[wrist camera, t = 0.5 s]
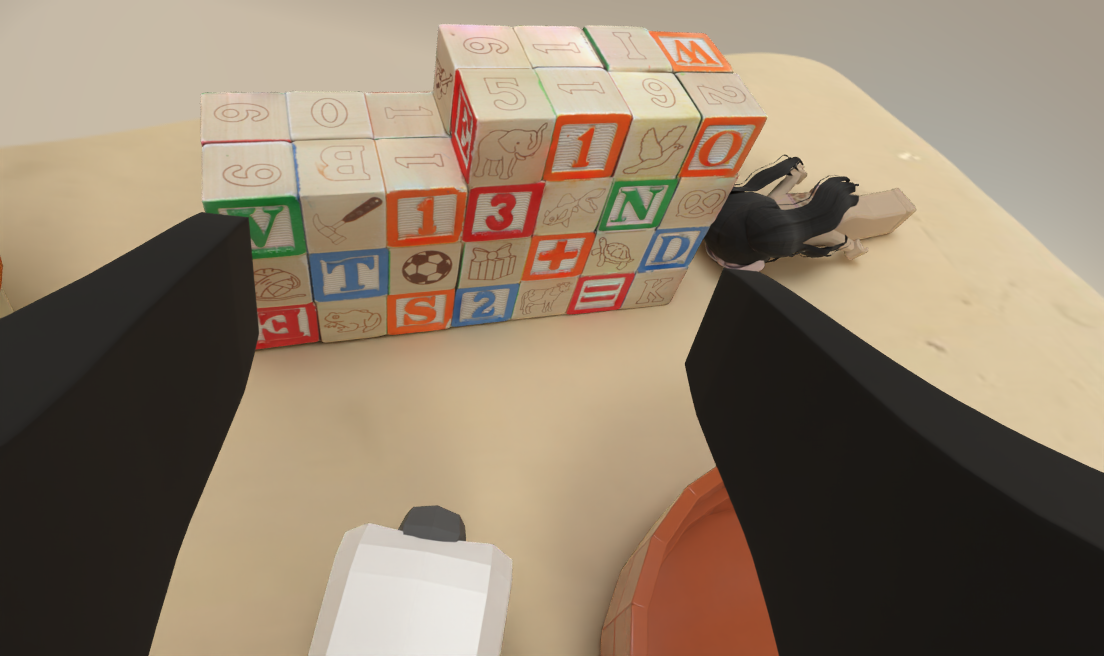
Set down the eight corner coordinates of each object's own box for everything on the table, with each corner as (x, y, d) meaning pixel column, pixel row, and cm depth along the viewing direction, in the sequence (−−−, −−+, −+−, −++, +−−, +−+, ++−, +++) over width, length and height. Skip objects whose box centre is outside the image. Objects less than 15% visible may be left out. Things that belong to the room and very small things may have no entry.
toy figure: (823, 176, 46) (664, 219, 39) (886, 107, 41) (715, 141, 34) (889, 255, 44) (731, 315, 37) (964, 191, 39) (798, 247, 31)
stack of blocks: (246, 357, 29) (170, 124, 19) (242, 253, 32) (176, 10, 23) (672, 304, 36) (774, 112, 26) (632, 223, 39) (710, 26, 29)
